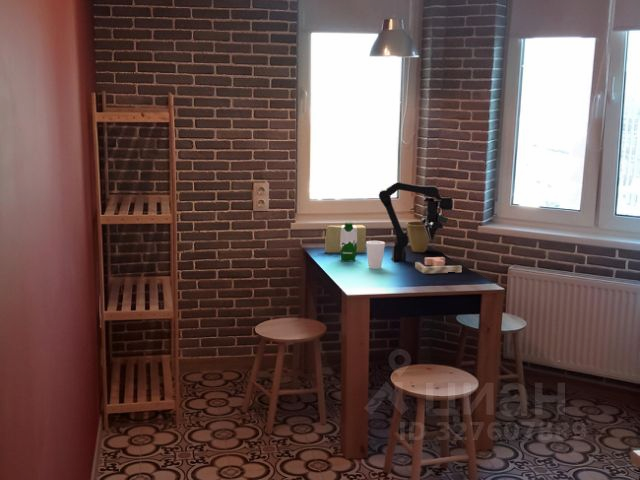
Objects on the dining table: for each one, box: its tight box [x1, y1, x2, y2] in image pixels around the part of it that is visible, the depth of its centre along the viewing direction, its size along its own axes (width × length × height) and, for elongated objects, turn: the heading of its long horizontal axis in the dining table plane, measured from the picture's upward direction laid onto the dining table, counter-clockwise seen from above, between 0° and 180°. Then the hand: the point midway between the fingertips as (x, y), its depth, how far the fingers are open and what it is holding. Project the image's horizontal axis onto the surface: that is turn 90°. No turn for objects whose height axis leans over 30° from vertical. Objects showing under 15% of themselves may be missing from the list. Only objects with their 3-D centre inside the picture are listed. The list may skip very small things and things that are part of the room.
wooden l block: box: [414, 261, 463, 275], centre depth 390 cm, size 20×13×3 cm, turn 101°
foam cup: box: [365, 240, 386, 270], centre depth 393 cm, size 10×9×13 cm
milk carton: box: [340, 222, 357, 262], centre depth 411 cm, size 9×9×20 cm
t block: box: [424, 256, 446, 266], centre depth 400 cm, size 10×10×4 cm
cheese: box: [324, 224, 367, 254], centre depth 432 cm, size 22×10×15 cm, turn 100°
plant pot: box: [406, 220, 431, 253], centre depth 437 cm, size 15×15×16 cm
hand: (431, 239), depth 408 cm, fingers open, 2 cm apart
